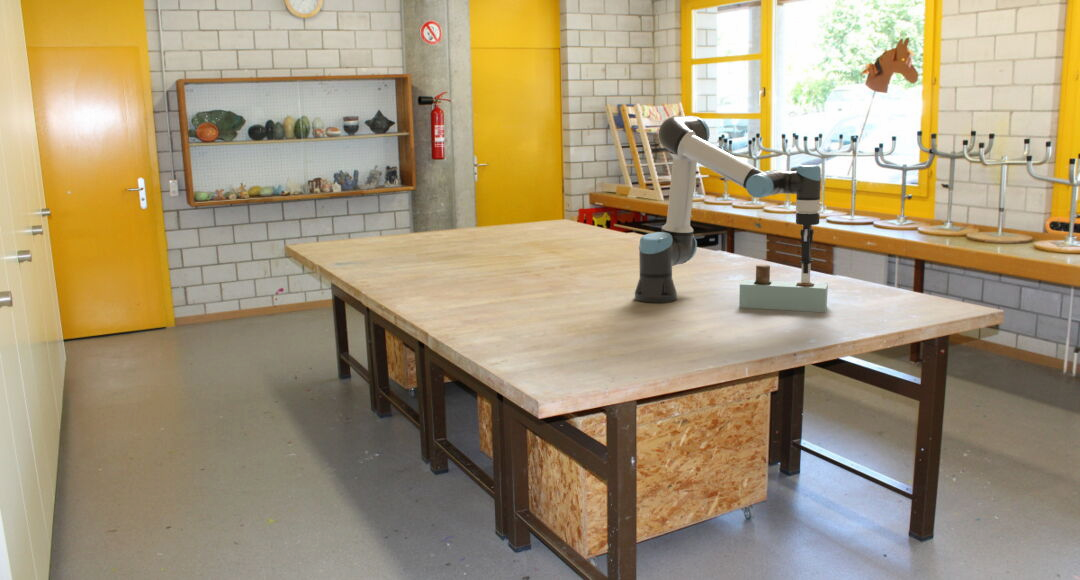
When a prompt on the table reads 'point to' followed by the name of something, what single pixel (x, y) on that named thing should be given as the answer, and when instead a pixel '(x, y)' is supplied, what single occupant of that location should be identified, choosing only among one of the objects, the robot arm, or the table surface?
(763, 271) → the peg
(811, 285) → the peg
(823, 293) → the socket board
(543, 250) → the table surface
